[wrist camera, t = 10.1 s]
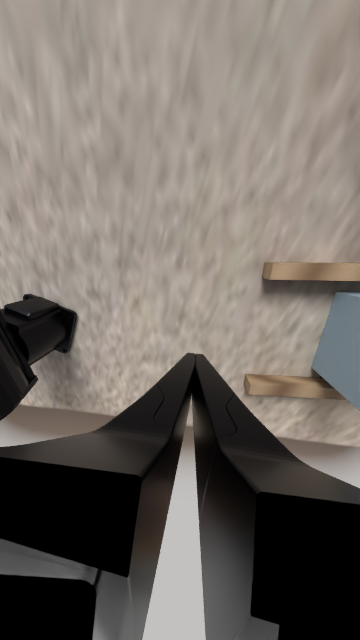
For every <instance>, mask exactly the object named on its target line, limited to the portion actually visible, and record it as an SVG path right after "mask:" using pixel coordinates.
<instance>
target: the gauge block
mask: <svg viewBox="0 0 360 640" xmlns="http://www.w3.org/2000/svg"><path fill="white" fill-rule="evenodd" d="M311 367H312V368H313V369H314V370H315V371H316V372H317V373H318V374H319V375H320V376H321V377H323V378H324V379H325V380H326V381H327V382H328V383H329V384H330V385H331V386H333V387H334V388H335V389H336V390H337V391H338V392H339V393H340V394H341V395H342V396H344V397H345V398H346V399H347V400H348V401H349V402H350V403H351V404H352V405H354V406H355V407H356V408H357V409H358V410H359V411H360V292H336V293H335V296H334V299H333V302H332V306H331V309H330V312H329V315H328V318H327V321H326V324H325V327H324V330H323V333H322V336H321V339H320V342H319V345H318V348H317V351H316V354H315V357H314V360H313V363H312V366H311Z"/></svg>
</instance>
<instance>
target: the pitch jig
mask: <svg viewBox="0 0 360 640" xmlns="http://www.w3.org/2000/svg"><path fill="white" fill-rule="evenodd" d="M262 278H266V279H269V280H330V281H360V263H278V262H265V264H264V270H263V275H262ZM244 385H245V387H246V389H247V392H248V394H250V395H269V396H288V397H307V398H325V399H344V400H347V399H346V398H345V397H344V396H342V395H341V394H340V393H339V392H338V391H337V390H336V389H335V388H334V387H333V386H331V385H330V384H329V383H328V382H327V381H326V380H325V379H324V378H315V377H293V376H272V375H250V374H246V375H245V381H244Z"/></svg>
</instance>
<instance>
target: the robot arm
mask: <svg viewBox="0 0 360 640" xmlns="http://www.w3.org/2000/svg"><path fill="white" fill-rule="evenodd" d="M28 297H29V298H28ZM71 314H72V316H71ZM75 321H76V313H75V312H74V311H72V310H70V309H67V308H65V307H62V306H60V305H58V304H57V303H54V302H52V301H49V300H47V299H44V298H42V297H37V296H34V295H32V294H26V295H24V296H23V301H19V302H15V303H11V304H7V305H5V306H4V309H0V420H2V419H3V418H5V417H6V416H7V415H8V414H10V413H11V412H12V411H13V410H14V408H16V407H17V405H18V404H19V403H20V402H21V400H22V399H23V398H24V397H25V396H26V394H27V393H28V392H29V391H30V389H31V388H32V387H33V386H34V385H35V383H36V382H37V381H38V378H37V376H36V375H34V373H33V371H32V369H31V367H30V366H31V365H32V364H34V363H35V362H37V361H38V360H40V359H41V358H43V357H44V356H46V355H47V354H49V353H50V352H52V351H53V350H57V351H59V352H62V353H67V352H69V351H70V346H71V341H72V336H73V331H74V326H75ZM65 349H66V350H65ZM191 396H192V410H193V427H194V443H195V461H196V478H197V495H198V512H199V530H200V546H201V563H202V582H203V598H204V614H205V633H206V640H360V488H358V487H355V486H353V485H351V484H348V483H346V482H344V481H342V480H339V479H337V478H334V477H332V476H330V475H327V474H325V473H323V472H321V471H318V470H316V469H314V468H312V467H310V466H309V465H307V464H305V463H303V462H302V461H301V460H299V459H298V458H297V457H295V456H294V455H293V454H292V453H291V452H290V451H289V450H288V449H287V448H286V447H285V446H284V445H283V444H282V443H281V442H280V441H279V440H278V439H277V438H276V437H275V436H274V435H273V434H272V433H271V432H270V431H269V430H268V429H267V428H266V427H265V426H264V425H263V424H262V423H261V422H260V421H259V420H258V419H257V418H256V417H255V416H254V415H253V414H252V413H251V412H250V410H249V409H248V408H247V407H246V406H245V405H244V404H243V402H242V401H241V400H240V399H239V398H238V396H237V395H235V393H234V392H233V390H232V389H231V388H230V387H229V386H228V384H227V383H226V382H225V381H224V379H223V378H222V377H221V376H220V375H219V373H218V372H217V371H216V370H215V368H214V367H213V366H212V365H211V364H210V362H209V361H208V360H207V359H206V357H205V356H204V355H203V354H194V353H187V354H186V355H185V356H184V357H183V358H182V359H181V360H180V361H179V362H178V363H177V364H176V365H175V366H174V367H172V368H171V369H170V370H169V371H168V372H167V373H166V374H165V375H164V376H163V377H162V378H161V379H160V380H159V381H158V382H157V383H156V384H155V385H154V386H153V387H152V388H151V389H150V390H149V391H148V392H146V393H145V394H144V395H143V396H142V397H141V398H139V399H138V400H137V401H136V402H135V403H133V404H132V405H131V406H129V407H128V408H127V409H125V410H124V411H123V412H121V413H120V414H119V415H117V416H116V417H115V418H114V419H112V420H111V421H110V422H108V423H107V424H105V425H104V426H102V427H100V428H99V429H97V430H95V431H92V432H89V433H84V434H79V435H74V436H68V437H63V438H57V439H52V440H47V441H41V442H36V443H30V444H25V445H18V446H9V447H0V640H142V637H143V632H144V627H145V622H146V617H147V613H148V608H149V602H150V598H151V593H152V588H153V583H154V578H155V574H156V568H157V564H158V559H159V554H160V549H161V544H162V539H163V534H164V529H165V525H166V519H167V514H168V510H169V505H170V500H171V495H172V490H173V485H174V480H175V475H176V470H177V465H178V461H179V456H180V451H181V446H182V441H183V436H184V431H185V426H186V421H187V417H188V412H189V407H190V402H191Z"/></svg>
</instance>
